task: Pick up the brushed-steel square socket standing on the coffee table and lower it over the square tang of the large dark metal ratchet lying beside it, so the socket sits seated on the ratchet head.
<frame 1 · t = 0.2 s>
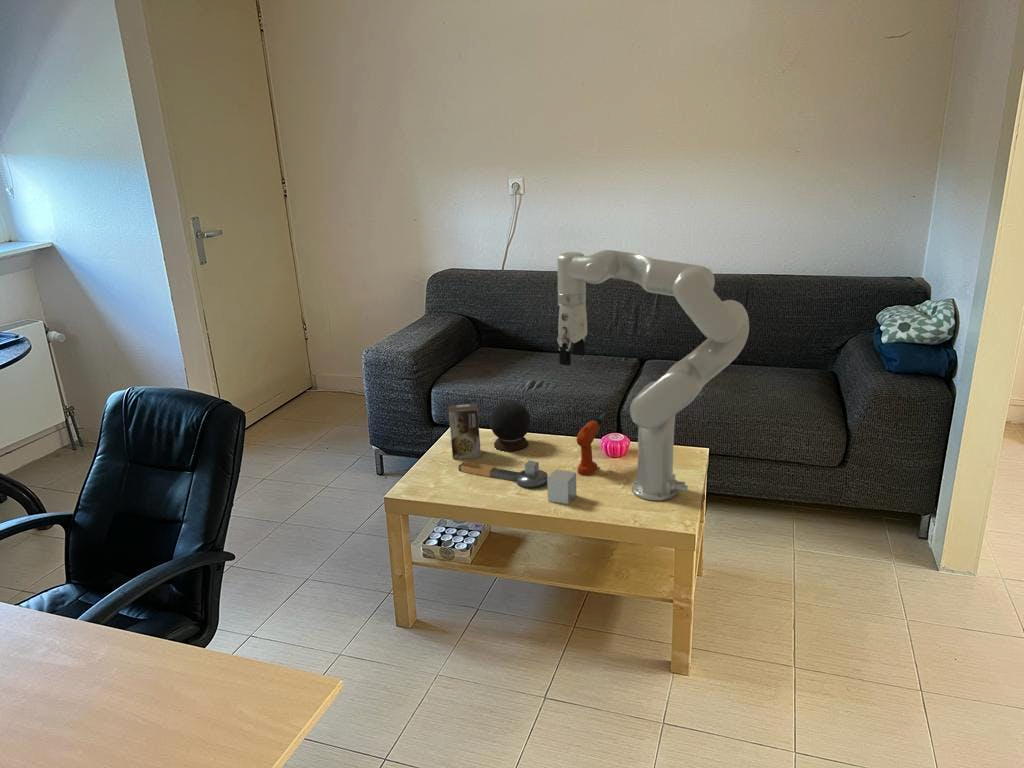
hand: (572, 359, 202), 36 cm above the table, tool pointing down, fingers open, 9 cm apart
socket: (562, 498, 201), on the table
ratchet: (532, 482, 212), on the table
toy drill: (593, 465, 221), on the table
coffee box: (466, 455, 232), on the table
black ball on stand: (511, 445, 238), on the table
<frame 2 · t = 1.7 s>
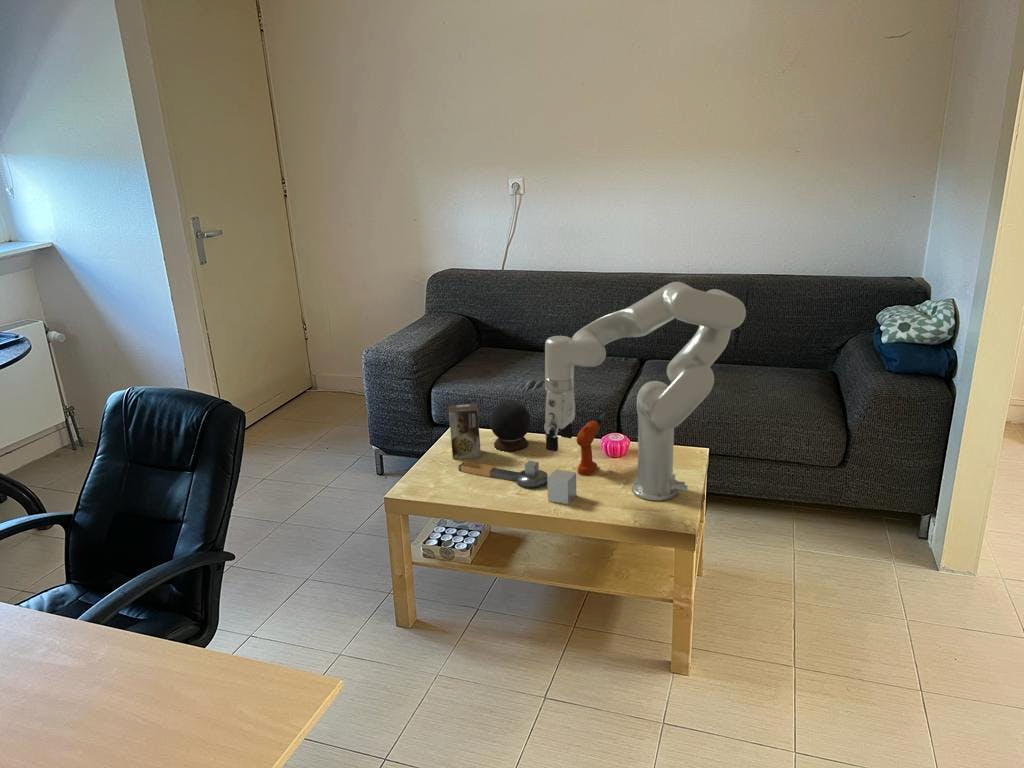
hand: (559, 443, 196), 16 cm above the table, tool pointing down, fingers open, 9 cm apart
nothing on the table moved.
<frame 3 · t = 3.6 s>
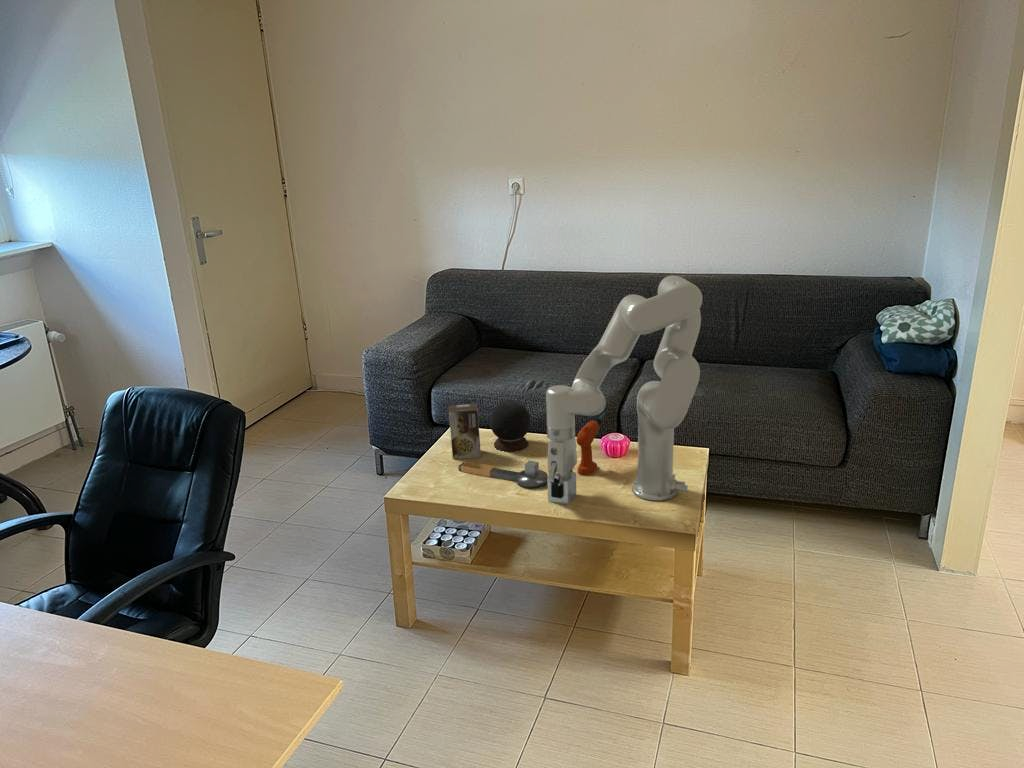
hand: (562, 491, 201), 2 cm above the table, tool pointing down, fingers closed on socket, 6 cm apart
socket: (562, 498, 201), on the table, touching gripper
everything else where it was.
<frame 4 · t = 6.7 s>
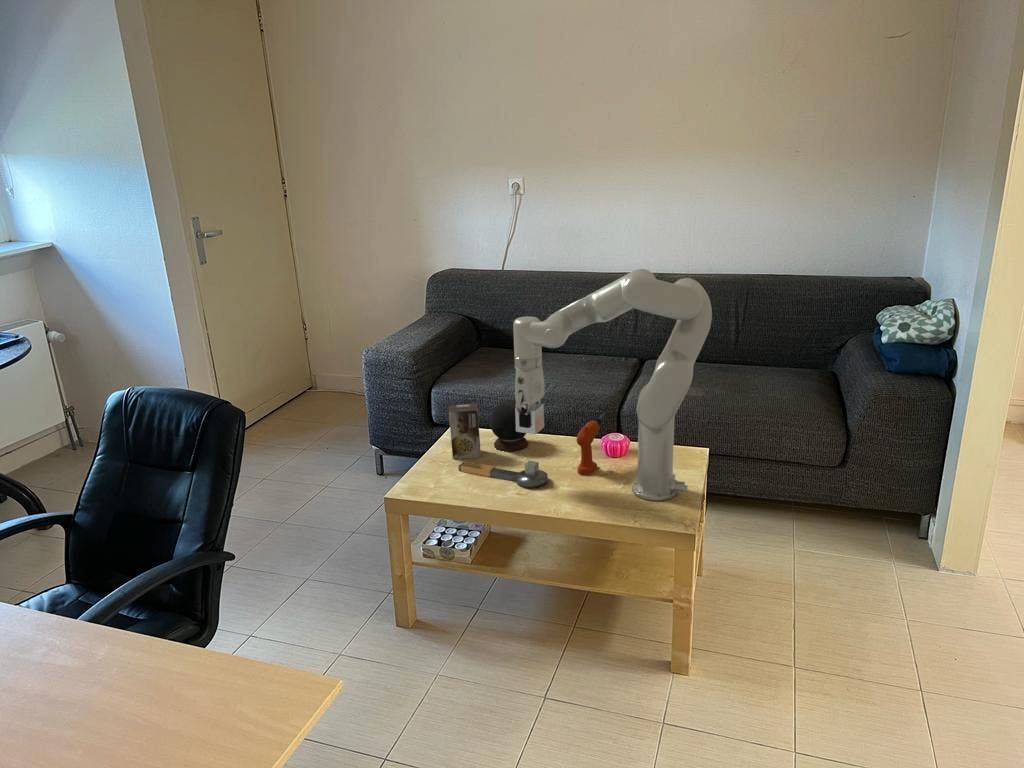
hand: (530, 422, 206), 19 cm above the table, tool pointing down, fingers closed on socket, 6 cm apart
socket: (530, 429, 206), point 17 cm above the table, touching gripper
everything else where it was.
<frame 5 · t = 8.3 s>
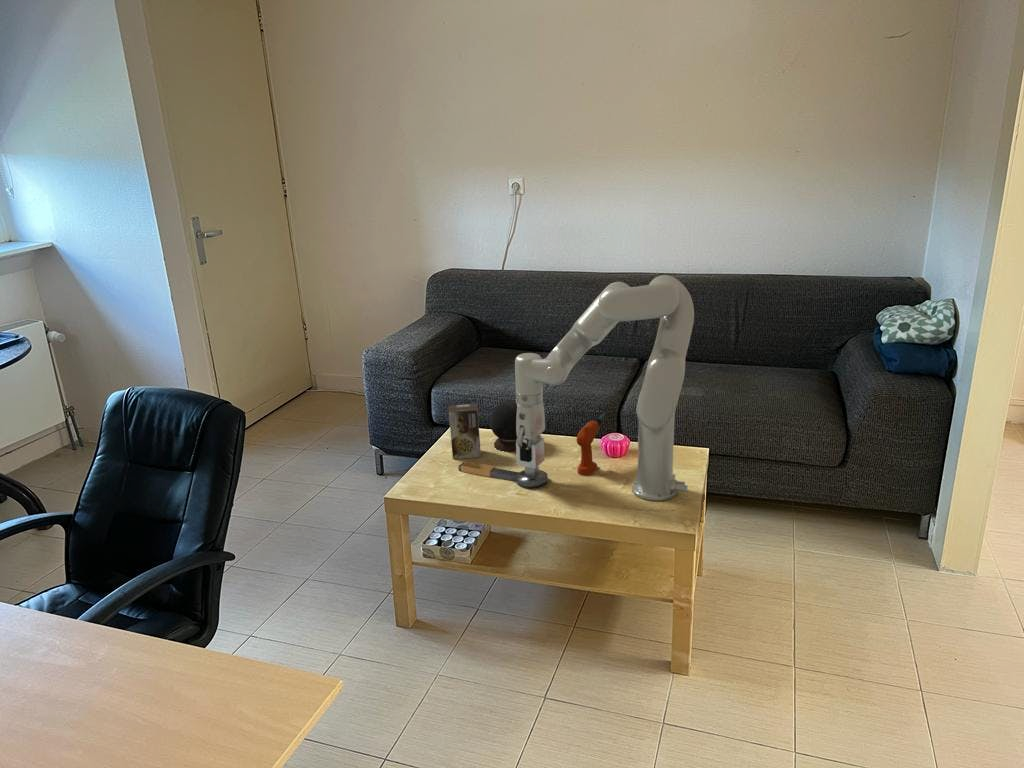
hand: (530, 456, 209), 8 cm above the table, tool pointing down, fingers closed on socket, 6 cm apart
socket: (530, 462, 210), point 6 cm above the table, touching gripper
everything else where it was.
when the fingers open (5 cm above the table, at t = 9.9 s): socket stays where it is, resting on ratchet.
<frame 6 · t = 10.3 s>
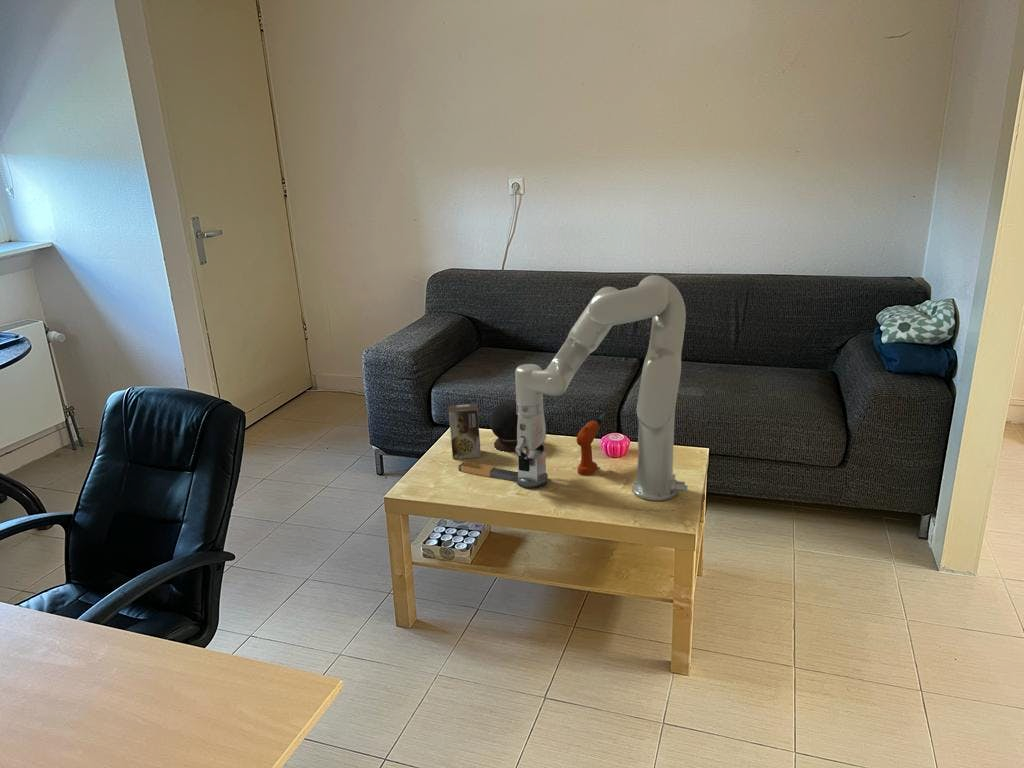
hand: (531, 463, 210), 6 cm above the table, tool pointing down, fingers open, 9 cm apart
socket: (532, 475, 211), point 2 cm above the table, touching ratchet
everything else where it was.
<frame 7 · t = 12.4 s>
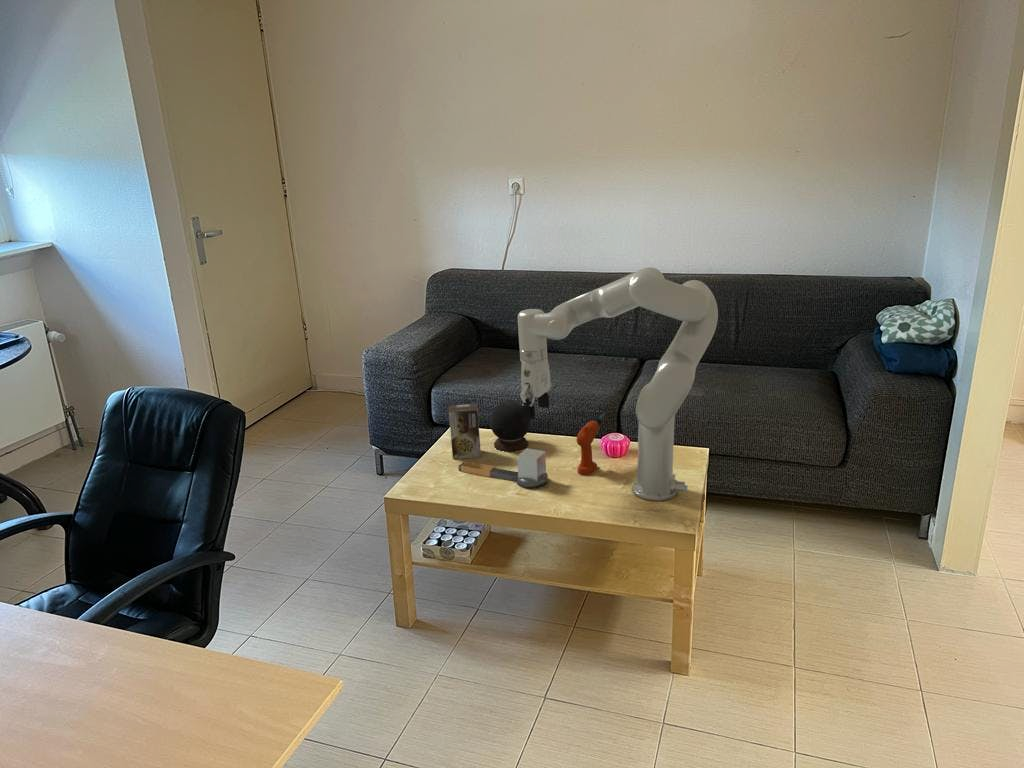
hand: (536, 412, 205), 21 cm above the table, tool pointing down, fingers open, 9 cm apart
nothing on the table moved.
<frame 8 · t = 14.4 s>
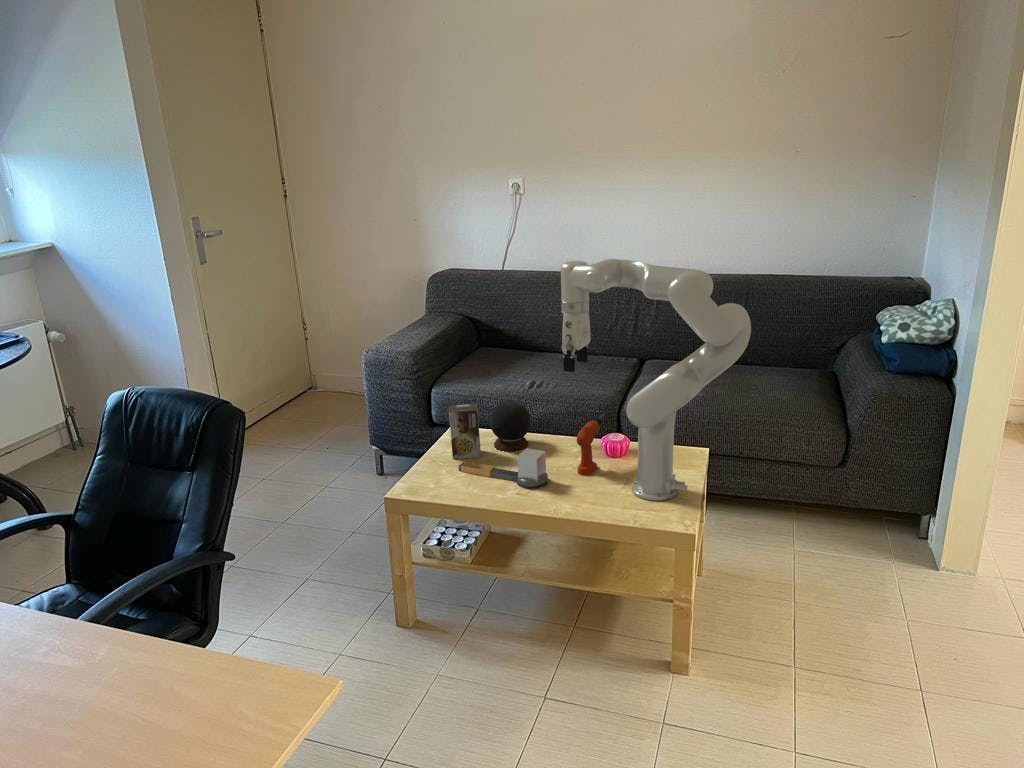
hand: (575, 366, 205), 33 cm above the table, tool pointing down, fingers open, 9 cm apart
nothing on the table moved.
at the end: socket 0.0 cm off-centre on the ratchet, point 2.0 cm above the ratchet's base; socket tilted 0°; the gripper is holding nothing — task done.
